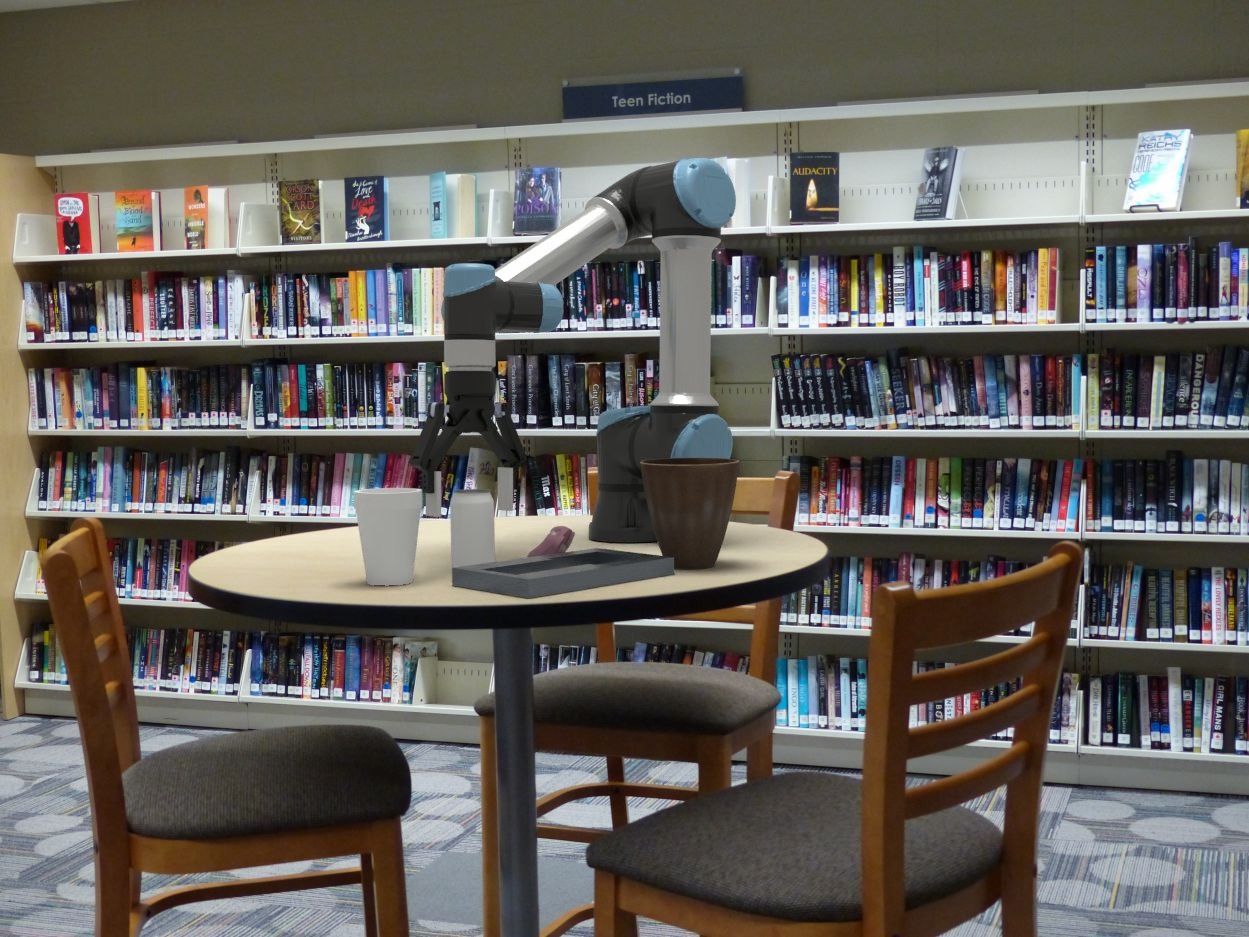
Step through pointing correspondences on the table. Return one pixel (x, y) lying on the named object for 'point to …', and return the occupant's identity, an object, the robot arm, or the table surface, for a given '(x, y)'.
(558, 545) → the video game controller
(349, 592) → the table surface
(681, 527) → the plant pot
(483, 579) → the keyhole plate
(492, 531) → the can
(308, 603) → the table surface
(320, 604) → the table surface
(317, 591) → the table surface
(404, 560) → the foam cup
